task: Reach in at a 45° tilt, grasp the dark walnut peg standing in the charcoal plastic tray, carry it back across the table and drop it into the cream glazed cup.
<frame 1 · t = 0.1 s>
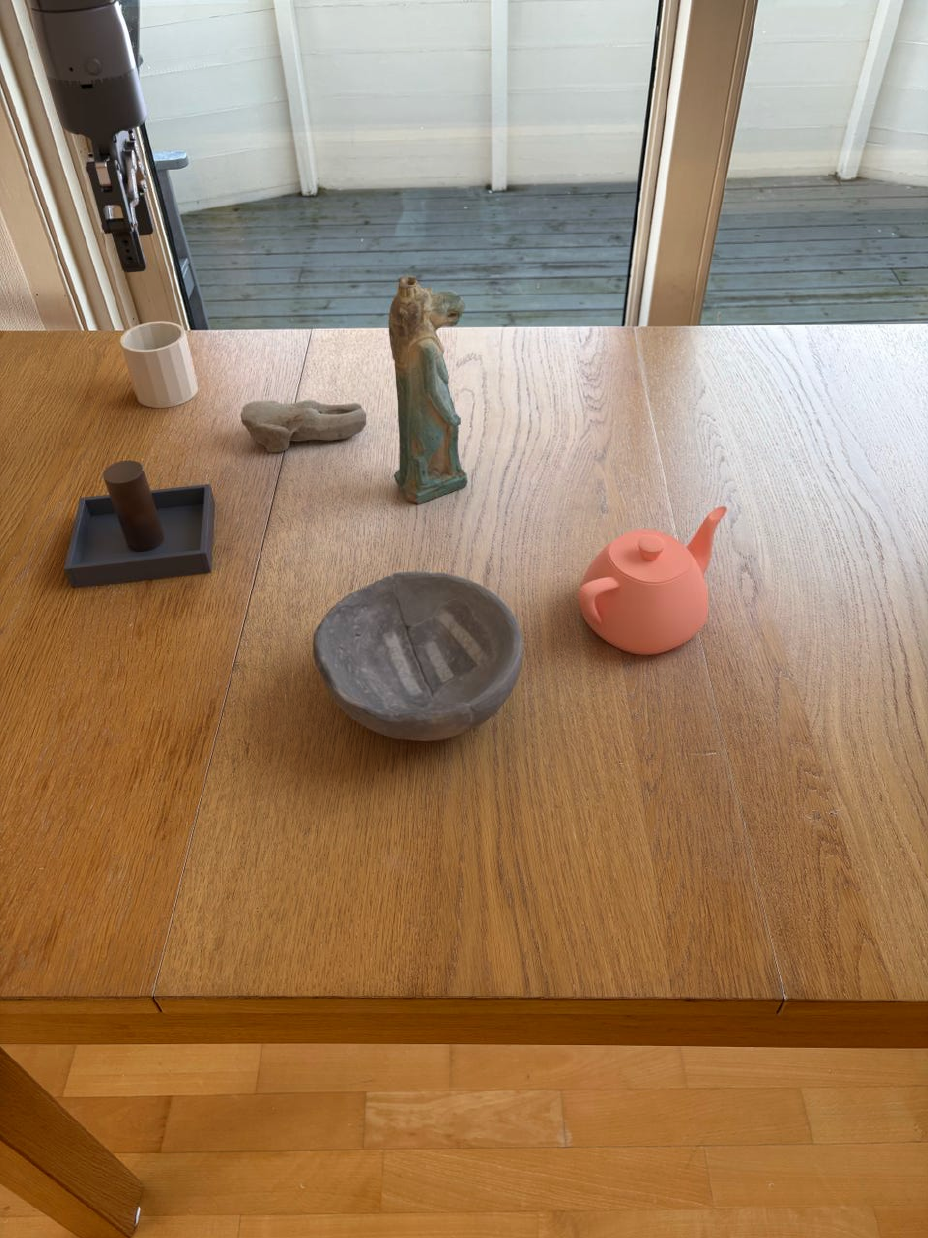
hand: (139, 251, 92), 27 cm above the table, tool pointing down, fingers open, 8 cm apart
cup: (167, 391, 126), on the table
sculpture: (307, 437, 118), on the table
statue: (433, 486, 110), on the table
walnut peg: (145, 540, 103), resting on tray
teapot: (646, 614, 94), on the table
tray: (147, 543, 103), on the table
bowl: (424, 697, 86), on the table
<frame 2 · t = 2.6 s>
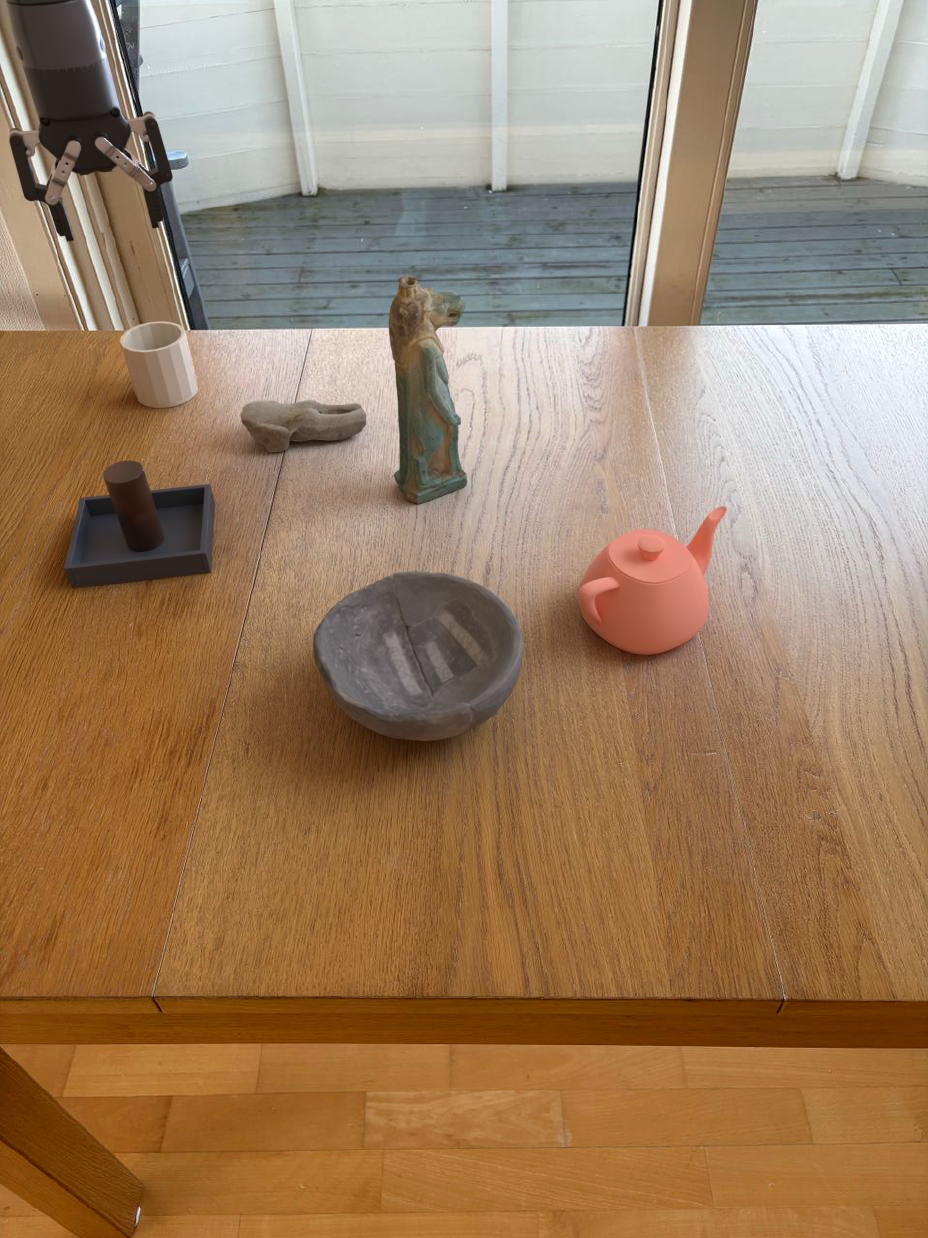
hand: (112, 232, 98), 26 cm above the table, tool pointing down, fingers open, 8 cm apart
nothing on the table moved.
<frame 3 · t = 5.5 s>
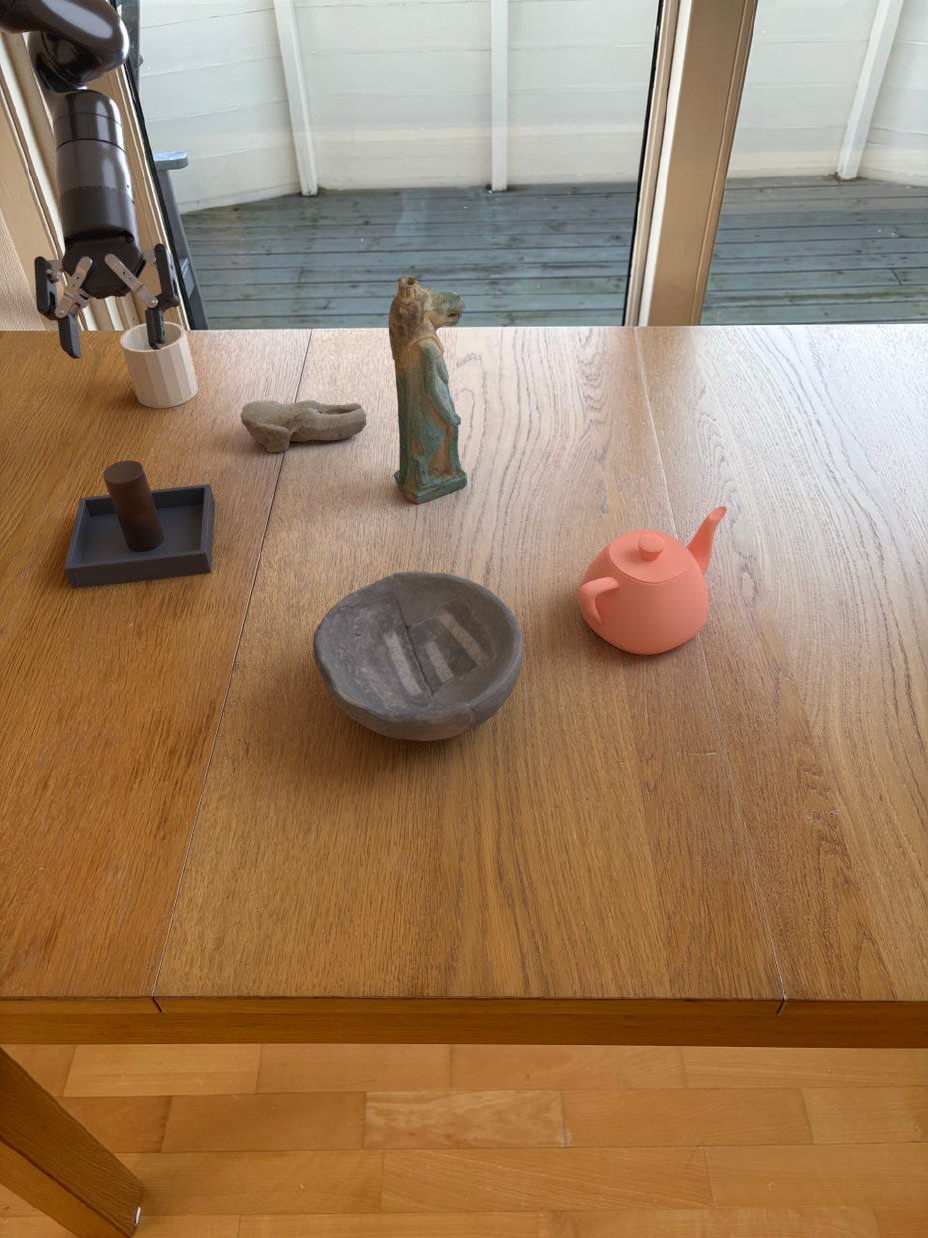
hand: (115, 352, 100), 16 cm above the table, tool tilted 45°, fingers open, 8 cm apart
nothing on the table moved.
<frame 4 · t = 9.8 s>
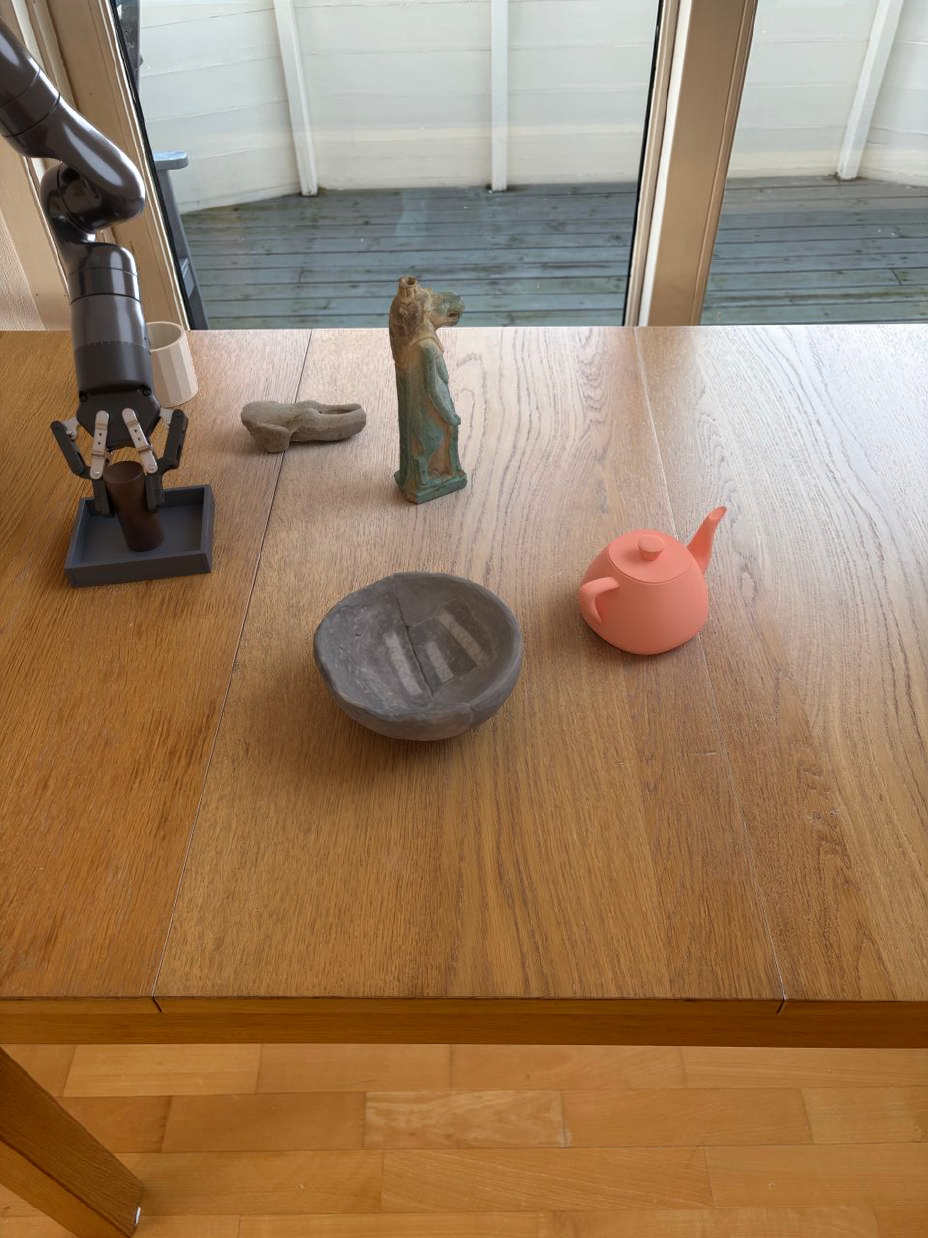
hand: (131, 513, 98), 6 cm above the table, tool tilted 45°, fingers closed on walnut peg, 4 cm apart
walnut peg: (145, 540, 103), point 1 cm above the table, touching gripper, tray
everything else where it was.
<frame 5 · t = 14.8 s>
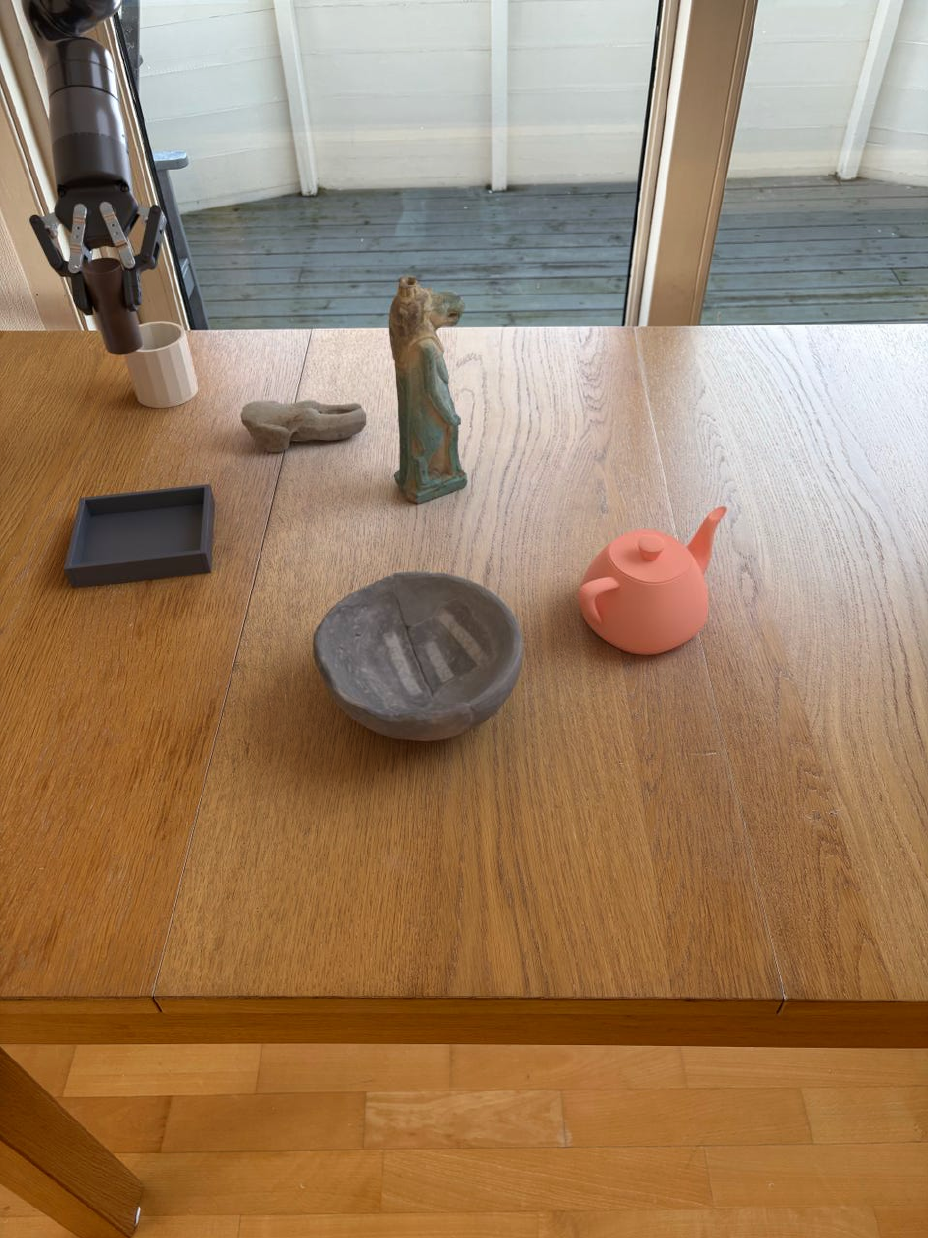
hand: (109, 310, 99), 20 cm above the table, tool tilted 45°, fingers closed on walnut peg, 4 cm apart
walnut peg: (125, 345, 104), point 15 cm above the table, touching gripper
everything else where it was.
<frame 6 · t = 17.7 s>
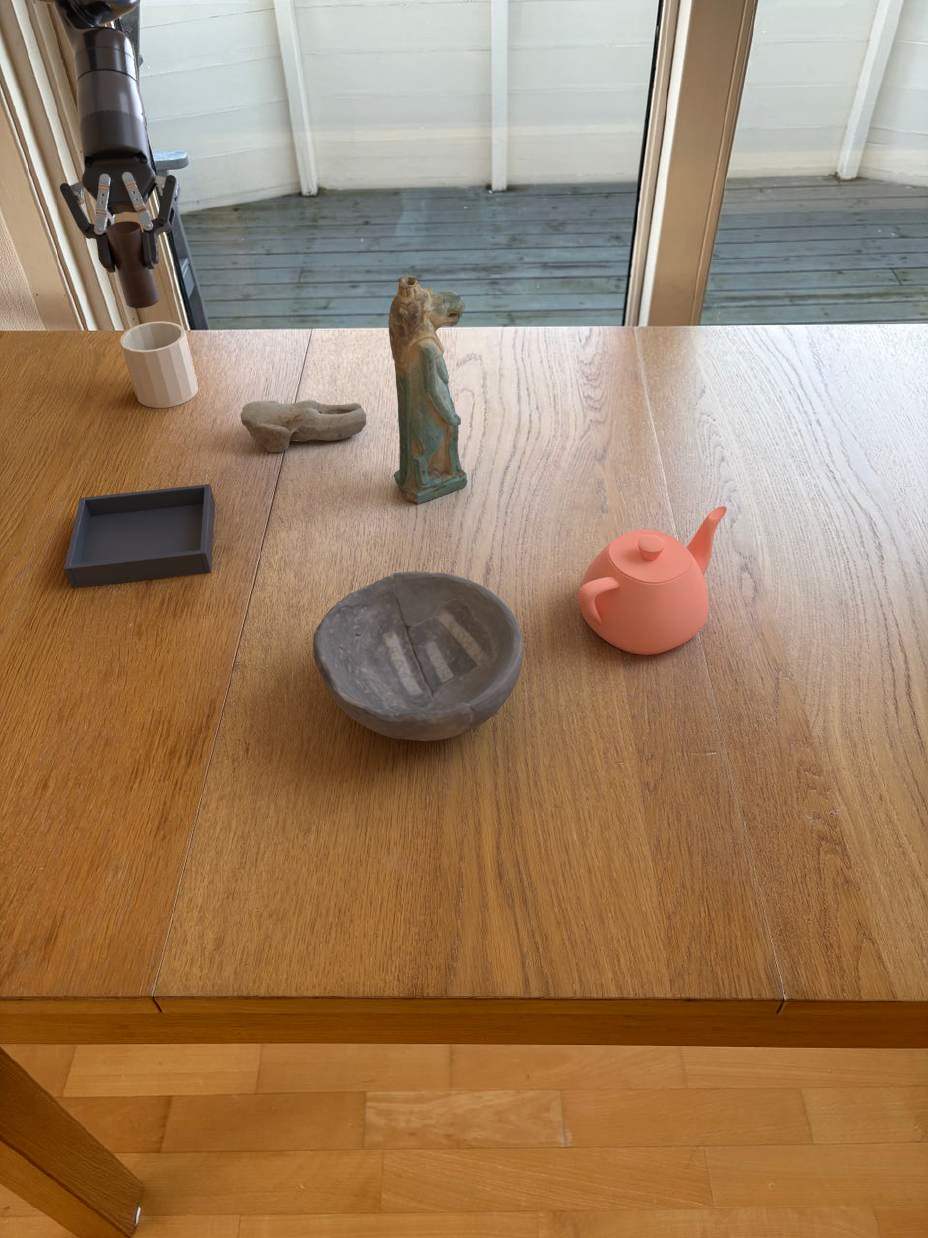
hand: (130, 267, 112), 18 cm above the table, tool tilted 45°, fingers closed on walnut peg, 4 cm apart
walnut peg: (142, 300, 117), point 13 cm above the table, touching gripper
everything else where it was.
when the fingers open (11 cm above the table, at t = 20.1 s): walnut peg drops 5 cm, resting on cup.
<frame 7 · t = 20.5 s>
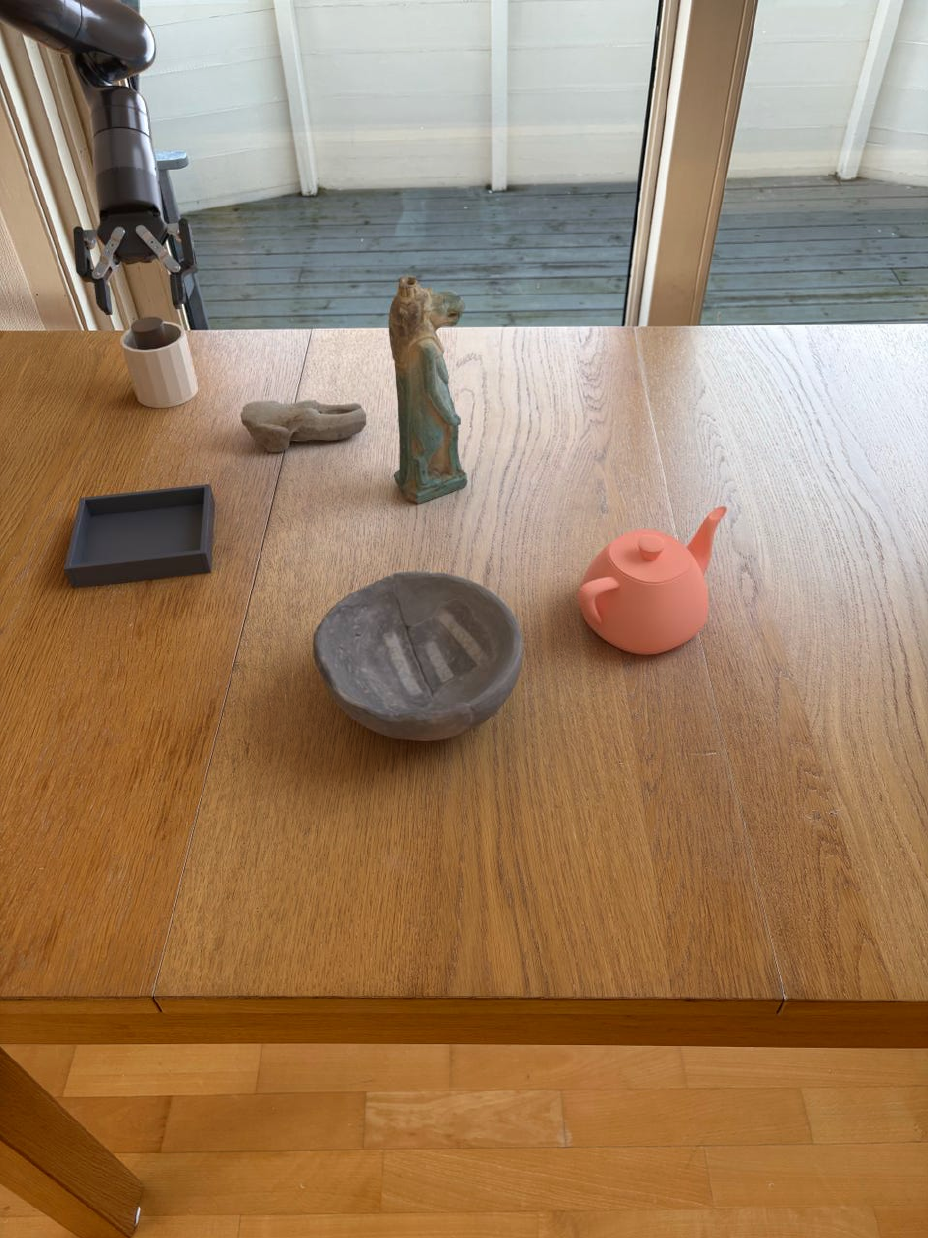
hand: (142, 309, 116), 12 cm above the table, tool tilted 45°, fingers open, 8 cm apart
walnut peg: (166, 387, 125), point 1 cm above the table, touching cup
everything else where it was.
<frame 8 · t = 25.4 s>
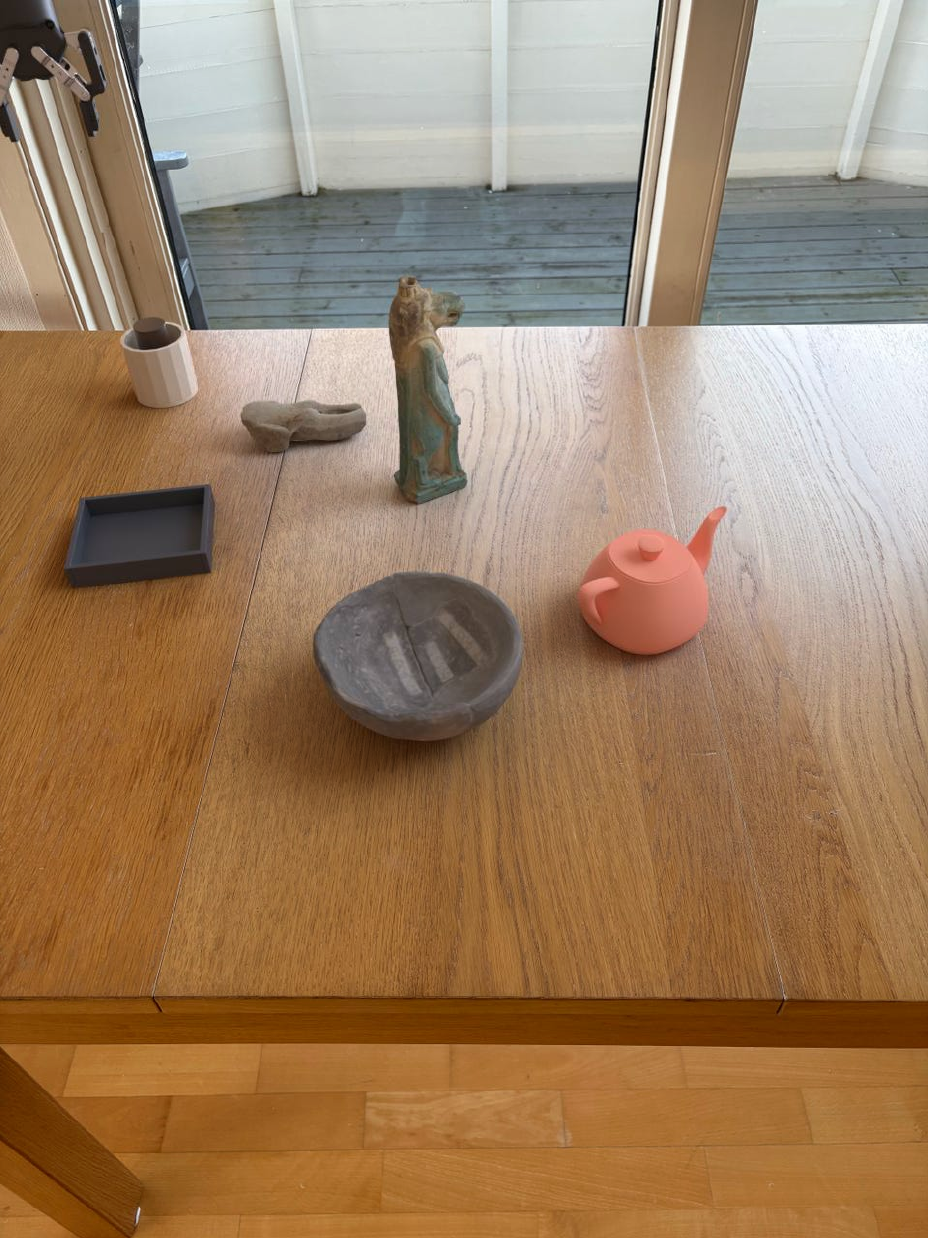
hand: (54, 137, 108), 30 cm above the table, tool pointing down, fingers open, 8 cm apart
nothing on the table moved.
at the end: walnut peg 0.0 cm off-centre in the cup, point 0.6 cm above the cup's base; the gripper is holding nothing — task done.
